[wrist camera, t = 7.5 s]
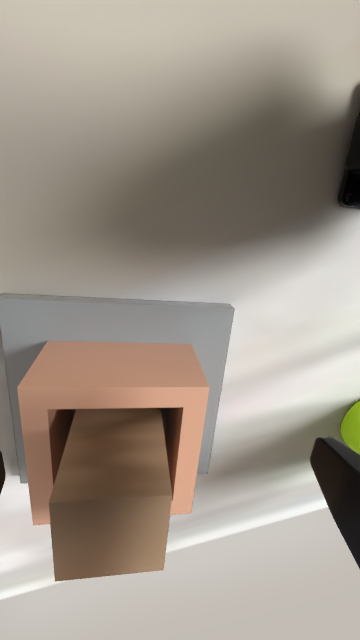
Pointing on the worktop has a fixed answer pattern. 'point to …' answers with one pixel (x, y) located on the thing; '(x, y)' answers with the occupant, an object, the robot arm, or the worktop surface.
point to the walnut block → (111, 495)
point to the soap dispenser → (352, 428)
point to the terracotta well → (112, 378)
